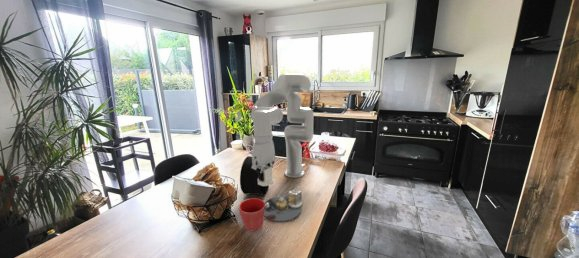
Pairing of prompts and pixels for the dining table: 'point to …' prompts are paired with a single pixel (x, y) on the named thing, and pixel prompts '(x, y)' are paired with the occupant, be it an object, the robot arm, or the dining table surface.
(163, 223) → the dining table surface
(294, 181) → the dining table surface
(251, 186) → the car wheel rim
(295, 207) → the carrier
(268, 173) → the open ended square duct
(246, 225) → the flower pot
